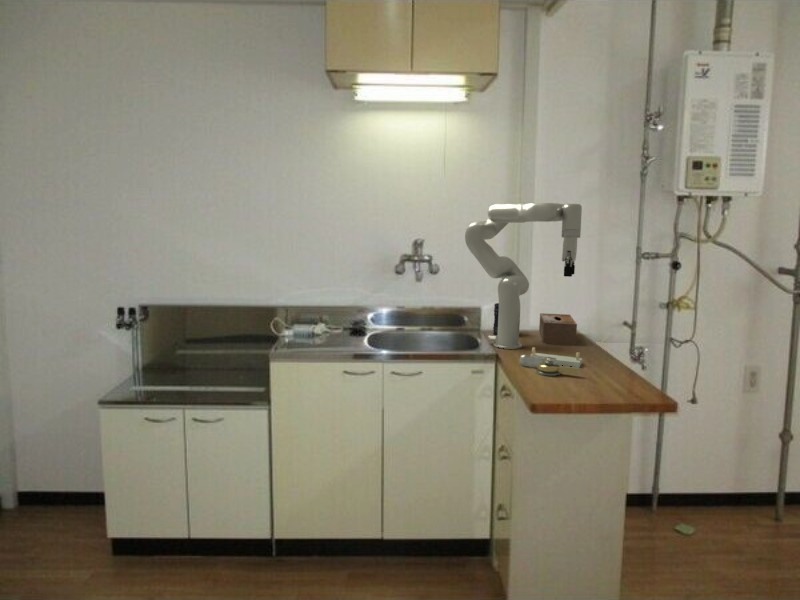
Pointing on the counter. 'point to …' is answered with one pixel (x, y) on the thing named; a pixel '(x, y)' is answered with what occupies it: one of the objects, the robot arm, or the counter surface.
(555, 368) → the gold handled disc
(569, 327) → the tissue box cover
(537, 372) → the round gray base
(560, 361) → the peg rest
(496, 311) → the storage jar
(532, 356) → the steel bar
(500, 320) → the robot arm
